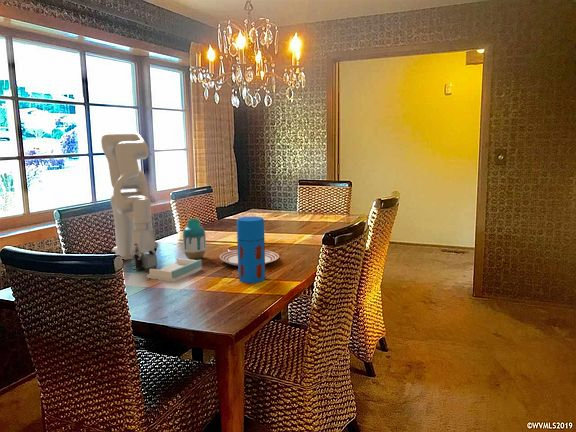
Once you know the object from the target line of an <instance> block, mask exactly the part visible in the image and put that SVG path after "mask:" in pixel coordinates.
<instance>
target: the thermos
mask: <svg viewBox="0 0 576 432" xmlns="http://www.w3.org/2000/svg"><path fill="white" fill-rule="evenodd" d="M264 219H265V218H263V217H261V216H241V217H238V218H237V219H236V238H237V239H236V240H237V241H236V242H237V250H238V266H237V267H238V268H237V269H238V270H237V271H238V272H237V273H238V280H239V281H240V282H241V283H244V284H256V283H261V282H263V281H265V279H266V264H265V250H266V249H265V243H266V242H265V220H264Z"/></svg>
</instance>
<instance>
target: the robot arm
mask: <svg viewBox="0 0 576 432" xmlns="http://www.w3.org/2000/svg"><path fill="white" fill-rule="evenodd" d="M100 141H101V149H102V150H103V151H102V152H103V153H104V156H105V158H106V160H107V163H108V168H109V177H110V182H111V186H112V188H113V191H112V192H113V194H112V195H111V197H110V206H111V209H112V214H113V215H112V216H113V223H114V235H115V246H114V247H113V248H112V249H111V252H113V253H115V254H118V255H120V256H121V258H122V259H124V260H123V261H125V260H127V261H129V260H134V259H135V264H136V266H135V269H136V268H140V269H141V268H142V259H141V256H142V253H145V254H147V253H148V254H153V255H157V254H156V253H157V249H158V246H159V243H157V242H156V239H155V238H156V237H155V232H154V228H153V222H152V221H153V220H152V218H153V217H152V207H151V206H152V204H151V199H150V198H149V191H148V185H147V179H146V178H147V177H146V175H145V173H144V171H143V170H141V169H140V167H139V164H138V163H139V162H138V160H146V159H148V157H149V154H150V153H149V146H148V143H147V142H146V141H145V139H144V138H143V137H142V136H141V135H140V134H139V133H138V132H136V131H135V132H134V131H133V132H132V131H127V132H125V131H124V132H122V131H117V132H116V131H113V132H108V133H104V134H103V135H102V136H101V140H100ZM124 190H126V192H125V191H124ZM127 190H135V191H127ZM122 191H123V192H122ZM131 214H132V215H131ZM115 254H114V255H115ZM138 254H139V256H138ZM141 270H142V269H141Z"/></svg>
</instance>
